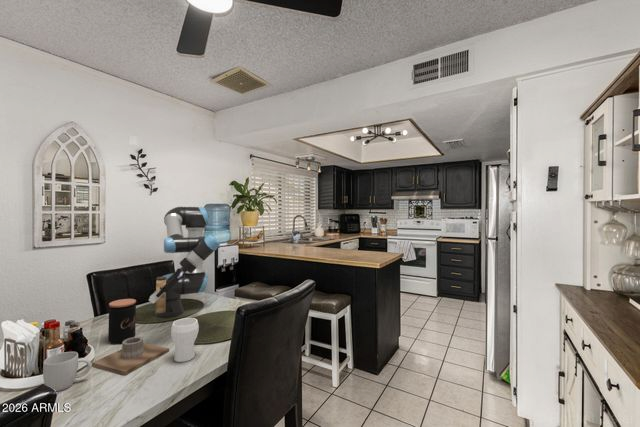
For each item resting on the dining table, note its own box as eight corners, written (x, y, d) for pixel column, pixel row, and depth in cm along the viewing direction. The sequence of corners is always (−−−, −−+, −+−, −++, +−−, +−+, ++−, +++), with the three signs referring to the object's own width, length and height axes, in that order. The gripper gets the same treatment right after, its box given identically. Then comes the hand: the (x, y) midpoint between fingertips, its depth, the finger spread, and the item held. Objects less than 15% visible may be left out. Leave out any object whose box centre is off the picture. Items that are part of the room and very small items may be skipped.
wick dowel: (160, 310, 136) (161, 276, 136) (167, 311, 134) (168, 276, 134) (153, 312, 132) (154, 277, 132) (160, 313, 131) (161, 278, 131)
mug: (39, 398, 93) (40, 367, 93) (45, 384, 100) (46, 355, 100) (90, 385, 100) (90, 356, 100) (91, 373, 108) (92, 346, 108)
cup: (171, 354, 123) (172, 319, 123) (198, 349, 128) (198, 316, 128) (169, 366, 114) (169, 328, 114) (198, 361, 118) (199, 324, 118)
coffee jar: (121, 346, 130) (122, 306, 130) (102, 343, 132) (103, 304, 132) (140, 336, 140) (141, 299, 140) (122, 334, 142) (123, 297, 142)
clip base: (138, 344, 131) (139, 328, 131) (169, 351, 125) (169, 334, 125) (91, 366, 112) (92, 347, 112) (125, 375, 106) (125, 355, 107)
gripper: (198, 270, 132) (156, 311, 125) (196, 264, 148) (158, 300, 140) (186, 259, 130) (142, 300, 123) (185, 254, 145) (146, 290, 138)
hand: (151, 300), depth 131 cm, fingers closed on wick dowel, 4 cm apart
